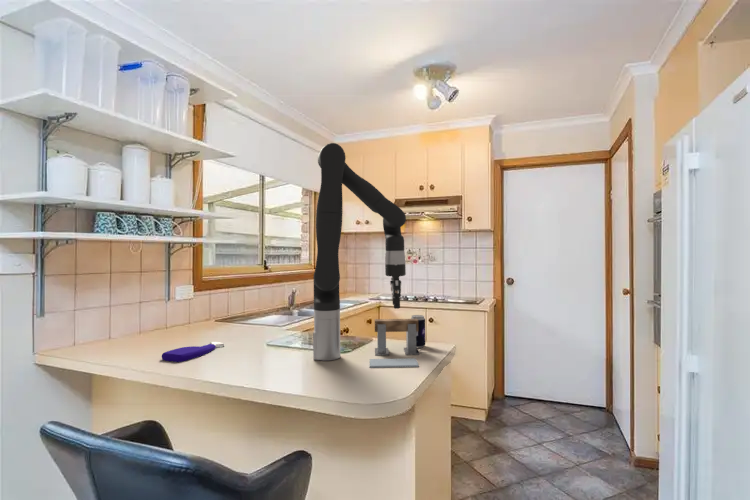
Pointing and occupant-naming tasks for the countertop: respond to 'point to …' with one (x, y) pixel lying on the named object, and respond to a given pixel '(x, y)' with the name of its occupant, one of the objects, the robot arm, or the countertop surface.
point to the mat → (393, 363)
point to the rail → (396, 324)
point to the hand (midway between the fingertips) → (396, 306)
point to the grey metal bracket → (381, 341)
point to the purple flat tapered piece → (189, 352)
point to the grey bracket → (411, 341)
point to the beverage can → (420, 331)
